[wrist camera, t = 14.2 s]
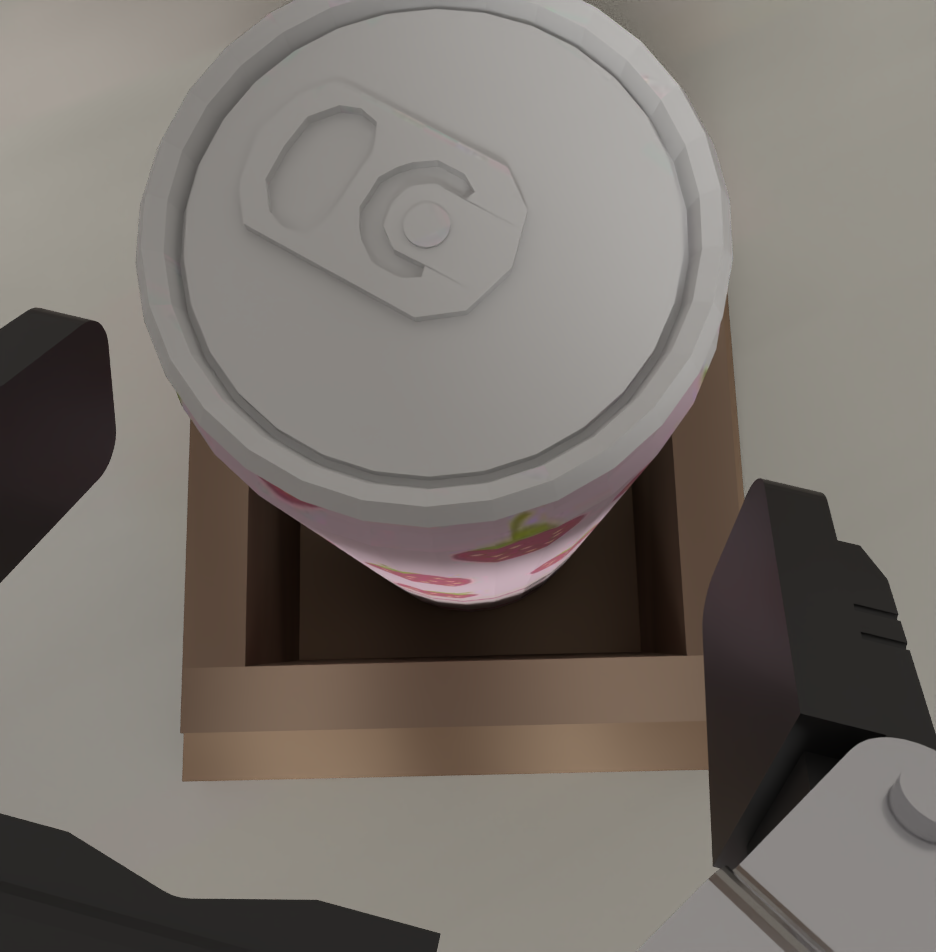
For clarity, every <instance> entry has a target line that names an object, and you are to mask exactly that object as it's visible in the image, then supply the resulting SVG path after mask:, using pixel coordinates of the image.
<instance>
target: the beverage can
mask: <svg viewBox="0 0 936 952" xmlns="http://www.w3.org/2000/svg"><path fill="white" fill-rule="evenodd" d="M732 261H733V248H732V230H731V212H730V198H729V195H728V191H727V188H726V184H725V181H724V177H723V174H722V170H721V167H720V163H719V160H718V157H717V153H716V150H715V146H714V143H713V141H712V139H711V138H710V136H709V134H708V132H707V130H706V128H705V127H704V125H703V123H702V121H701V119H700V117H699V116H698V114H697V112H696V110H695V108H694V106H693V105H692V103H691V101H690V99H689V97H688V95H687V94H686V92H685V91H684V90H683V89H682V88H681V86H680V85H679V84H678V83H677V82H676V81H675V80H674V78H673V77H672V76H671V75H670V74H669V73H668V71H667V70H666V69H665V68H664V67H663V66H662V65H661V63H660V62H659V61H658V60H657V59H656V58H655V56H654V55H653V54H652V53H651V52H650V51H649V49H648V48H647V47H646V46H645V45H644V44H643V43H642V42H641V41H640V40H639V39H637V38H636V37H635V36H633V35H632V34H631V33H629V32H628V31H627V30H625V29H624V28H623V27H622V26H620V25H619V24H618V23H616V22H615V21H614V20H612V19H611V18H610V17H608V16H607V15H606V14H604V13H603V12H602V11H601V10H599V9H598V8H597V7H594V6H592V5H590V4H588V3H586V2H584V1H582V0H294V1H292V2H290V3H288V4H286V5H284V6H282V7H280V8H278V9H276V10H274V11H272V12H271V13H269V14H268V15H267V16H265V17H264V18H263V19H262V20H260V21H259V22H258V23H257V24H255V25H254V26H253V27H251V28H250V29H249V30H248V31H246V32H245V33H244V34H242V35H241V36H240V37H239V38H237V39H236V40H235V41H234V42H232V43H231V44H230V45H228V46H227V47H226V48H225V49H224V50H223V51H222V53H221V54H220V55H219V56H218V57H217V58H216V60H215V61H214V62H213V63H212V64H211V65H210V67H209V68H208V69H207V70H206V71H205V72H204V74H203V75H202V76H201V77H200V78H199V79H198V81H197V82H196V83H195V84H194V85H193V86H192V88H191V89H190V90H189V91H188V93H187V95H186V97H185V99H184V100H183V102H182V104H181V106H180V108H179V109H178V111H177V113H176V115H175V117H174V118H173V120H172V122H171V124H170V126H169V127H168V129H167V131H166V133H165V135H164V136H163V138H162V140H161V142H160V144H159V146H158V148H157V151H156V154H155V157H154V161H153V164H152V167H151V171H150V174H149V177H148V180H147V184H146V187H145V190H144V193H143V197H142V200H141V203H140V212H139V225H138V237H137V250H136V269H137V276H138V283H139V289H140V296H141V303H142V310H143V317H144V321H145V324H146V327H147V329H148V332H149V334H150V337H151V339H152V342H153V345H154V347H155V350H156V352H157V355H158V357H159V360H160V363H161V365H162V368H163V370H164V373H165V375H166V377H167V378H168V380H169V381H170V383H171V384H172V386H173V387H174V389H175V390H176V392H177V395H178V398H179V400H180V403H181V405H182V407H183V408H184V410H185V411H186V413H187V414H188V416H189V417H190V419H191V420H192V422H193V423H194V425H195V426H196V427H197V429H198V430H199V432H200V433H201V435H202V436H203V438H204V439H205V441H206V442H207V444H208V445H209V447H210V448H211V450H212V451H213V452H214V454H215V455H216V456H217V457H218V458H219V459H220V460H221V461H222V462H224V463H225V464H226V465H227V466H228V467H229V468H230V469H231V470H232V471H233V472H234V473H235V474H236V475H237V476H239V477H240V478H241V479H242V480H243V481H244V482H245V483H246V484H247V485H248V486H249V487H250V488H251V489H252V490H254V491H255V492H256V493H257V494H258V495H259V496H261V497H262V498H264V499H265V500H267V501H268V502H270V503H271V504H273V505H274V506H276V507H277V508H279V509H280V510H282V511H283V512H285V513H286V514H288V515H289V516H291V517H293V518H294V519H296V520H297V521H299V522H300V523H302V524H303V525H305V526H306V527H308V528H309V529H311V530H312V531H314V532H315V533H317V534H318V535H320V536H321V537H323V538H324V539H326V540H327V541H329V542H331V543H332V544H334V545H335V546H337V547H338V548H340V549H341V550H343V551H344V552H346V553H347V554H349V555H350V556H352V557H353V558H355V559H356V560H358V561H359V562H361V563H362V564H364V565H365V566H367V567H369V568H370V569H372V570H373V571H375V572H376V573H378V574H379V575H381V576H382V577H384V578H385V579H387V580H388V581H390V582H391V583H393V584H394V585H396V586H397V587H399V588H400V589H402V590H404V591H405V592H407V593H409V594H411V595H412V596H414V597H416V598H417V599H419V600H421V601H423V602H426V603H429V604H432V605H435V606H438V607H441V608H444V609H450V610H459V611H469V612H471V611H480V610H490V609H496V608H499V607H502V606H505V605H508V604H511V603H514V602H517V601H519V600H521V599H523V598H524V597H526V596H528V595H529V594H531V593H533V592H535V591H536V590H538V589H539V588H540V587H541V586H543V585H544V584H545V583H546V582H547V581H548V580H549V579H550V578H551V577H552V576H554V575H555V574H556V573H557V572H558V570H559V569H560V568H561V567H562V566H563V565H564V563H565V562H566V561H567V560H568V559H569V558H570V556H571V555H572V554H573V553H574V552H575V551H576V549H577V548H578V547H579V546H580V545H581V543H582V542H583V541H584V540H585V539H586V538H587V536H588V535H589V534H590V533H591V532H592V531H593V529H594V528H595V527H596V526H597V525H598V524H599V522H600V521H601V520H602V519H603V518H604V517H605V515H606V514H607V513H608V512H609V511H610V509H611V508H612V507H613V506H614V505H615V504H616V502H617V501H618V500H619V499H620V498H621V497H622V495H623V494H624V493H625V492H626V491H627V490H628V488H629V487H630V486H631V485H632V484H633V482H634V481H635V480H636V479H637V478H638V477H639V475H640V474H641V473H642V472H643V471H644V470H645V468H646V467H647V466H648V465H649V464H650V463H651V461H652V460H653V459H654V458H655V457H656V456H657V454H658V453H659V452H660V450H661V449H662V447H663V446H664V445H665V443H666V442H667V440H668V439H669V438H670V436H671V435H672V433H673V432H674V431H675V429H676V428H677V426H678V425H679V423H680V422H681V421H682V419H683V418H684V416H685V415H686V414H687V412H688V411H689V409H690V408H691V407H692V405H693V404H694V401H695V399H696V396H697V394H698V392H699V389H700V387H701V384H702V382H703V380H704V377H705V375H706V372H707V370H708V368H709V365H710V363H711V360H712V358H713V356H714V353H715V351H716V347H717V341H718V335H719V330H720V324H721V320H722V318H723V313H724V307H725V301H726V296H727V290H728V284H729V278H730V273H731V267H732Z"/></svg>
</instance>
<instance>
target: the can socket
mask: <svg viewBox="0 0 936 952" xmlns="http://www.w3.org/2000/svg"><path fill="white" fill-rule="evenodd" d="M743 502H744V492H743V479H742V467H741V455H740V442H739V430H738V418H737V406H736V393H735V381H734V369H733V356H732V344H731V332H730V319H729V307H728V295H727V296H726V301H725V307H724V313H723V318H722V320H721V324H720V330H719V335H718V341H717V347H716V351H715V353H714V356H713V358H712V360H711V363H710V365H709V368H708V370H707V372H706V375H705V377H704V380H703V382H702V384H701V387H700V389H699V392H698V394H697V396H696V399H695V401H694V404H693V405H692V407H691V408H690V409H689V411H688V412H687V414H686V415H685V416H684V418H683V419H682V421H681V422H680V423H679V425H678V426H677V428H676V429H675V431H674V432H673V433H672V435H671V436H670V438H669V439H668V440H667V442H666V443H665V445H664V446H663V447H662V449H661V450H660V452H659V453H658V454H657V456H656V457H655V458H654V459H653V460H652V461H651V463H650V464H649V465H648V466H647V467H646V468H645V470H644V471H643V472H642V473H641V474H640V475H639V477H638V478H637V479H636V480H635V481H634V482H633V484H632V485H631V486H630V487H629V488H628V490H627V491H626V492H625V493H624V494H623V495H622V497H621V498H620V499H619V500H618V501H617V502H616V504H615V505H614V506H613V507H612V508H611V509H610V511H609V512H608V513H607V514H606V515H605V517H604V518H603V519H602V520H601V521H600V522H599V524H598V525H597V526H596V527H595V528H594V529H593V531H592V532H591V533H590V534H589V535H588V536H587V538H586V539H585V540H584V541H583V542H582V543H581V545H580V546H579V547H578V548H577V549H576V551H575V552H574V553H573V554H572V555H571V556H570V558H569V559H568V560H567V561H566V562H565V563H564V565H563V566H562V567H561V568H560V569H559V570H558V572H557V573H556V574H555V575H554V576H552V577H551V578H550V579H549V580H548V581H547V582H546V583H545V584H544V585H543V586H541V587H540V588H539V589H538V590H536V591H535V592H533V593H531V594H529V595H528V596H526V597H524V598H523V599H521V600H519V601H517V602H514V603H511V604H508V605H505V606H502V607H499V608H496V609H490V610H480V611H471V612H469V611H459V610H450V609H444V608H441V607H438V606H435V605H432V604H429V603H426V602H423V601H421V600H419V599H417V598H416V597H414V596H412V595H411V594H409V593H407V592H405V591H404V590H402V589H400V588H399V587H397V586H396V585H394V584H393V583H391V582H390V581H388V580H387V579H385V578H384V577H382V576H381V575H379V574H378V573H376V572H375V571H373V570H372V569H370V568H369V567H367V566H365V565H364V564H362V563H361V562H359V561H358V560H356V559H355V558H353V557H352V556H350V555H349V554H347V553H346V552H344V551H343V550H341V549H340V548H338V547H337V546H335V545H334V544H332V543H331V542H329V541H327V540H326V539H324V538H323V537H321V536H320V535H318V534H317V533H315V532H314V531H312V530H311V529H309V528H308V527H306V526H305V525H303V524H302V523H300V522H299V521H297V520H296V519H294V518H293V517H291V516H289V515H288V514H286V513H285V512H283V511H282V510H280V509H279V508H277V507H276V506H274V505H273V504H271V503H270V502H268V501H267V500H265V499H264V498H262V497H261V496H259V495H258V494H257V493H256V492H255V491H254V490H252V489H251V488H250V487H249V486H248V485H247V484H246V483H245V482H244V481H243V480H242V479H241V478H240V477H239V476H237V475H236V474H235V473H234V472H233V471H232V470H231V469H230V468H229V467H228V466H227V465H226V464H225V463H224V462H222V461H221V460H220V459H219V458H218V457H217V456H216V455H215V454H214V452H213V451H212V450H211V448H210V447H209V445H208V444H207V442H206V441H205V439H204V438H203V436H202V435H201V433H200V432H199V430H198V429H197V427H196V426H195V425H194V423H193V422H192V420H191V419H190V449H189V480H188V511H187V541H186V572H185V603H184V634H183V665H182V696H181V727H180V733H184V744H183V775H182V781H225V780H269V779H314V778H358V777H402V776H446V775H490V774H534V773H578V772H622V771H667V770H709V767H708V744H707V722H706V700H705V677H704V655H703V633H702V621H703V611H704V604H705V599H706V595H707V591H708V587H709V584H710V581H711V578H712V575H713V573H714V570H715V568H716V566H717V563H718V561H719V559H720V556H721V554H722V552H723V549H724V547H725V545H726V542H727V540H728V538H729V535H730V533H731V530H732V528H733V526H734V523H735V521H736V519H737V516H738V514H739V512H740V509H741V507H742V505H743Z"/></svg>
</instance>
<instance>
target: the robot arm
mask: <svg viewBox="0 0 936 952" xmlns="http://www.w3.org/2000/svg"><path fill="white" fill-rule="evenodd" d="M115 439H116V424H115V413H114V402H113V391H112V379H111V368H110V357H109V346H108V339H107V335H106V332H105V330H104V328H103V327H102V325H101V324H100V323H98V322H96V321H93V320H89V319H84V318H80V317H76V316H72V315H67V314H63V313H59V312H54V311H50V310H46V309H42V308H33V309H30V310H28V311H26V312H25V313H23V314H22V315H20V316H19V317H17V318H16V319H14V320H13V321H11V322H10V323H8V324H7V325H5V326H4V327H3V328H1V329H0V583H1V582H2V581H3V579H4V578H5V577H6V576H7V575H8V574H9V573H10V572H11V571H12V570H13V569H14V568H15V567H16V566H17V565H18V564H19V563H20V562H21V560H22V559H23V558H24V557H25V556H26V555H27V554H28V553H29V552H30V551H31V550H32V549H33V548H34V547H35V546H36V545H37V544H38V543H39V541H40V540H41V539H42V538H43V537H44V536H45V535H46V534H47V533H48V532H49V531H50V530H51V529H52V528H53V527H54V526H55V525H56V524H57V522H58V521H59V520H60V519H61V518H62V517H63V516H64V515H65V514H66V513H67V512H68V511H69V510H70V509H71V508H72V507H73V506H74V505H75V503H76V502H77V501H78V500H79V499H80V498H81V497H82V496H83V495H84V494H85V493H86V492H87V491H88V490H89V489H90V488H91V487H92V486H93V484H94V483H95V482H96V481H97V480H98V479H99V478H100V477H101V476H102V474H103V473H104V471H105V470H106V468H107V466H108V464H109V462H110V459H111V456H112V453H113V450H114V445H115ZM897 616H898V611H897V608H896V605H895V602H894V599H893V595H892V592H891V589H890V586H889V583H888V580H887V578H886V577H885V576H884V575H883V573H882V572H881V571H880V570H879V569H878V567H877V566H876V565H875V564H874V562H873V561H872V560H871V559H870V557H869V556H868V555H867V554H866V552H865V551H864V550H863V549H862V548H861V546H859V545H855V544H850V543H846V542H842V541H838V540H837V537H836V533H835V529H834V525H833V522H832V518H831V514H830V510H829V506H828V502H827V499H826V496H825V495H824V494H823V493H820V492H816V491H812V490H808V489H803V488H799V487H795V486H791V485H786V484H782V483H778V482H773V481H769V480H765V479H761V478H760V479H757V480H756V481H755V482H754V483H753V484H752V486H751V487H750V489H749V491H748V493H747V495H746V497H745V500H744V502H743V505H742V507H741V509H740V512H739V514H738V516H737V519H736V521H735V523H734V526H733V528H732V530H731V533H730V535H729V538H728V540H727V542H726V545H725V547H724V549H723V552H722V554H721V556H720V559H719V561H718V563H717V566H716V568H715V570H714V573H713V575H712V578H711V581H710V584H709V587H708V591H707V595H706V599H705V604H704V611H703V621H702V633H703V655H704V677H705V700H706V722H707V744H708V767H709V789H710V811H711V833H712V856H713V867H717V868H720V869H719V870H718V871H716V872H715V873H714V874H713V875H712V876H711V877H710V878H708V879H707V880H706V881H705V882H704V883H703V884H702V885H701V886H700V887H699V888H698V889H697V890H696V891H695V892H694V893H693V894H692V895H691V896H690V897H689V898H688V899H687V900H686V901H685V902H684V903H683V904H682V905H681V906H680V907H679V908H678V909H677V910H676V911H675V912H674V913H673V914H672V915H671V916H670V917H669V918H668V919H667V920H666V921H665V922H664V924H663V925H662V926H661V927H660V928H659V929H658V930H657V931H656V932H655V933H654V934H653V935H652V936H651V937H650V938H649V939H648V940H647V941H646V942H645V943H644V944H643V945H642V946H641V947H640V948H639V949H638V950H637V951H636V952H936V733H935V730H934V727H933V724H932V721H931V717H930V714H929V711H928V708H927V705H926V701H925V698H924V695H923V692H922V688H921V685H920V682H919V679H918V676H917V672H916V669H915V666H914V663H913V660H912V656H911V653H910V650H906V645H907V640H906V637H905V634H904V631H903V628H902V624H901V621H898V620H897ZM439 938H440V933H436V932H433V931H429V930H425V929H422V928H418V927H414V926H411V925H407V924H403V923H400V922H396V921H392V920H389V919H385V918H381V917H378V916H374V915H370V914H367V913H363V912H359V911H356V910H352V909H348V908H345V907H341V906H337V905H334V904H330V903H326V902H323V901H319V900H268V899H188V898H180V897H176V896H173V895H170V894H168V893H166V892H164V891H163V890H161V889H159V888H158V887H156V886H155V885H153V884H151V883H150V882H148V881H147V880H145V879H143V878H142V877H140V876H138V875H137V874H135V873H134V872H132V871H130V870H129V869H127V868H126V867H124V866H122V865H121V864H119V863H117V862H116V861H114V860H113V859H111V858H109V857H108V856H106V855H105V854H103V853H101V852H100V851H98V850H97V849H95V848H93V847H92V846H90V845H88V844H87V843H85V842H84V841H82V840H80V839H79V838H77V837H76V836H74V835H72V834H71V833H69V832H66V831H63V830H59V829H55V828H52V827H48V826H44V825H41V824H37V823H33V822H30V821H26V820H22V819H19V818H15V817H11V816H8V815H4V814H0V952H437V948H438V943H439Z"/></svg>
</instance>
